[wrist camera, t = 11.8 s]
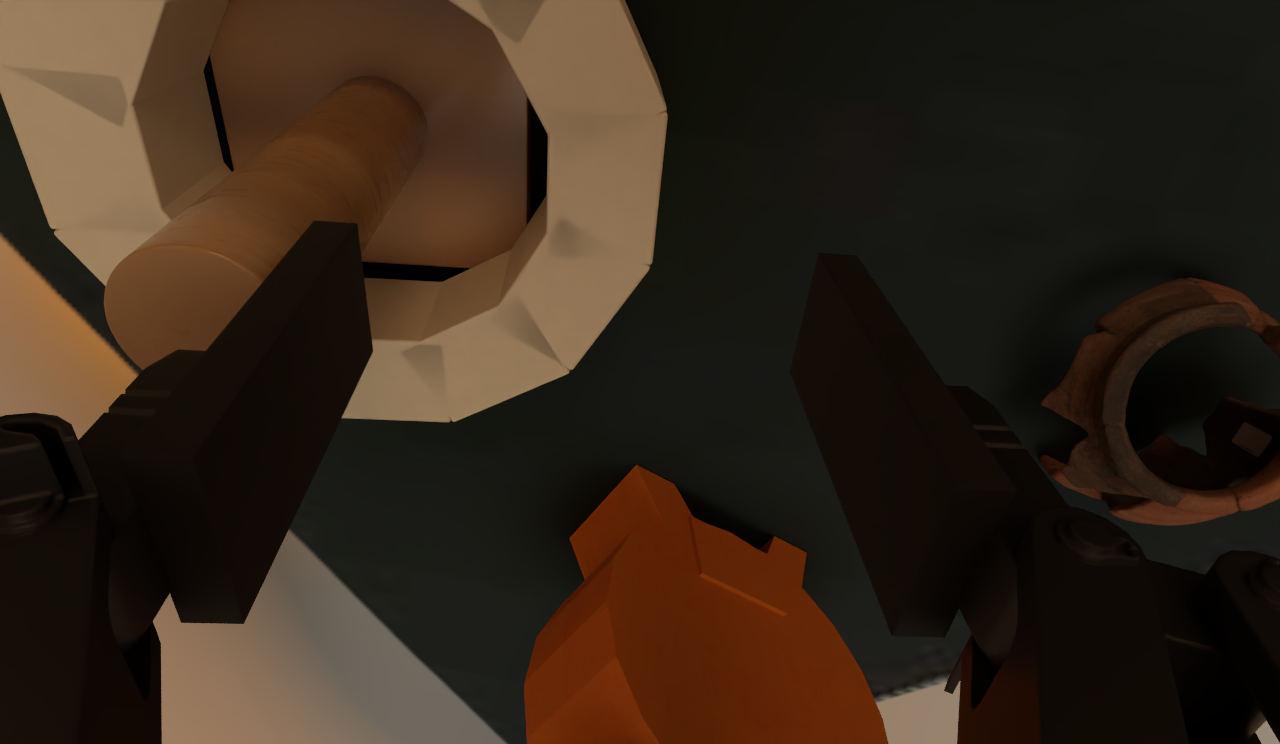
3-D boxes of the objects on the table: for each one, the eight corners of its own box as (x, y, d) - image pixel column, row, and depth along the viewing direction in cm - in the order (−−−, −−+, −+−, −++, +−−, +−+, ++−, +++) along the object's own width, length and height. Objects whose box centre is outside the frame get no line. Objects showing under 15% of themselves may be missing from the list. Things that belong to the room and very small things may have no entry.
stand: (209, -62, 21) (-245, 8, 10) (532, -31, 22) (462, 67, 10) (268, 237, 26) (12, 514, 15) (530, 253, 27) (480, 528, 15)
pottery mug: (964, 463, 34) (1044, 509, 26) (1028, 259, 33) (1131, 238, 25) (1237, 538, 33) (1411, 610, 25) (1310, 329, 32) (1516, 332, 24)
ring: (201, -386, 16) (99, -453, 13) (759, 56, 22) (788, 88, 19) (37, 198, 23) (-57, 252, 20) (493, 421, 29) (479, 492, 25)
